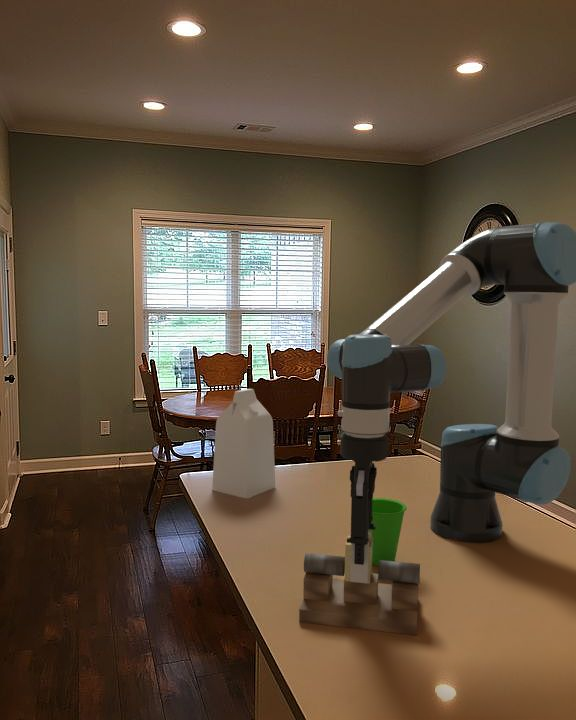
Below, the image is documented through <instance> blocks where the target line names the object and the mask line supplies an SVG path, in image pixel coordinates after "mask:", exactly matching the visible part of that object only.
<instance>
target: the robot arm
mask: <svg viewBox="0 0 576 720" xmlns="http://www.w3.org/2000/svg"><path fill="white" fill-rule="evenodd" d="M575 283H576V231H575V230H574V228H573V227H571V226H570V224H567V223H564V222H557V221H555V222H552V221H551V222H547V221H544V222H543V221H541V222H535V223H526V224H515V225H507V226H495V227H492V228H488V229H486V230H483V231H481V232H478V233H477V234H475V235H473V236H472V237H469V238H468V239H467V240H465V241H464V242H461V244H459V245H458V246H456V247H455V248H454V249H452V251H450V252H448V253H447V254H446V255H445V256H444V257H442V259H441V260H440V261H439V267H438V268H437V269H436V270H435V271H434V272H432V273H431V274H430V275H429V276H428V277H426V278H425V279H424V280H423V281H422V282H420V283H419V284H418V285H416V286H415V287H414V288H413V289H412V290H411V291H410V292H409V293H407V294H406V295H405V296H404V297H402V298H401V299H400V300H399V301H398V302H397V303H395V304H394V305H393V306H391V307H390V308H389V309H388V310H386V312H385V313H383V314H382V315H380V316H379V318H377V319H376V320H375V321H373V323H371V324H370V325H369V326H367V328H365V329H364V330H362V331H361V332H360V333H358V334H349V335H348V336H347V337H346V336H345V338H344V339H343V338H341V339H338V340H336V341H334V342H333V343H332V344H331V345H330V347H329V349H328V351H327V354H326V363H327V367H328V370H329V371H330V373H331V374H332V375H333V376H334V377H335V378H338V379H341V410H338V411H337V416H338V417H342V418H341V423H340V424H341V425H340V426H341V427H340V428H341V430H342V431H343V432H342V433H341V434H340V442H339V443H340V447H339V449H340V450H339V451H340V452H339V454H340V456H341V457H342V458H344V459H345V460H348V461H353V462H354V465H351V469H350V470H349V481H350V498H351V500H350V501H351V503H350V506H351V507H350V508H351V509H350V510H351V511H350V536H351V538H348V537H347V539H346V542H347V543H351V573H350V582H358V583H368V560H369V539H368V537H371V531H368V529H372V530H375V529H376V524H371V522H372V520H373V517H372V504H373V498H374V493H375V489H376V478H377V474H378V473H377V472H378V470H377V469H378V468H377V467H376V465H375V463H374V462H376V463H377V462H382V461H384V460H386V459H387V458H388V456H389V436H388V434H387V433H388V432H389V431H390V416H391V415H390V414H391V405H390V404H391V402H390V401H391V394H395V393H403V392H404V393H405V392H413V391H414V392H417V391H419V392H420V391H421V392H422V391H423V392H424V391H425V390H430V389H434V388H436V387H438V386H440V385H441V384H442V383H443V381H444V380H445V378H446V376H447V360H446V357H445V355H444V354H443V352H442V351H441V350H440V348H438V347H437V346H435V345H432V344H414V345H413V344H411V343H412V342H413V341H415V340H416V339H417V338H418V337H420V336H421V335H422V333H424V332H425V331H426V330H427V329H428V328H429V327H430V326H432V325H433V324H435V322H436V321H437V320H438V319H440V318H441V317H442V316H443V315H444V314H445V313H446V312H447V311H449V310H450V309H451V308H452V307H454V306H455V305H456V304H457V303H458V302H459V301H460V300H462V298H463V297H467V296H468V297H469V296H473V295H474V294H475V293H477V292H478V291H479V290H480V289H482V288H484V287H489V286H494V285H500V286H501V285H503V294H504V295H505V297H506V298H507V299H508V300H509V301H510V303H511V305H510V306H511V308H510V324H509V325H510V326H509V343H508V344H509V346H508V360H507V362H508V363H507V378H506V379H507V381H506V386H507V387H506V397H505V398H506V400H505V401H506V402H505V418H504V419H505V421H504V423H503V424H502V425H501V426H500V427H498V426H497V425H495V424H487V423H466V424H457V425H451V426H447V427H445V429H443V431H442V433H441V434H442V435H441V444H440V468H439V469H440V471H439V472H440V474H439V475H440V476H439V493H438V496H437V499H436V501H435V504H434V507H433V509H432V512H431V513H430V528H431V530H432V531H433V532H434V533H436V534H438V535H439V536H442V537H445V538H447V539H452V540H455V541H459V542H470V543H485V542H486V543H487V542H491V541H495V540H497V539H499V538H501V537H502V535H503V527H504V526H503V519H502V516H501V513H500V509H499V506H498V503H497V499H496V493H497V494H500V495H502V496H507V497H510V498H513V499H516V500H519V501H521V502H522V503H530V504H535V505H538V506H539V505H540V506H541V505H542V506H543V505H548V504H550V503H552V502H553V501H555V500H556V499H557V498H558V497H559V496H560V495H561V493H562V491H564V489H565V487H566V485H567V483H568V480H569V477H570V473H571V467H572V466H571V465H572V464H571V463H572V462H571V457H570V454H569V453H568V451H567V450H566V449H564V448H563V447H560V446H559V445H560V434H559V433H558V432H557V431H556V430H555V429H554V428H553V427H552V421H553V405H554V403H553V402H554V389H555V387H554V386H555V374H556V373H555V370H556V358H557V357H556V356H557V355H556V354H557V342H558V340H557V339H558V338H557V337H558V326H559V325H558V322H559V309H560V308H559V307H560V303H561V301H563V300H564V299H565V298H566V297H567V296H568V295H569V286H572V285H573V284H575ZM410 344H411V345H410Z"/></svg>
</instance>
